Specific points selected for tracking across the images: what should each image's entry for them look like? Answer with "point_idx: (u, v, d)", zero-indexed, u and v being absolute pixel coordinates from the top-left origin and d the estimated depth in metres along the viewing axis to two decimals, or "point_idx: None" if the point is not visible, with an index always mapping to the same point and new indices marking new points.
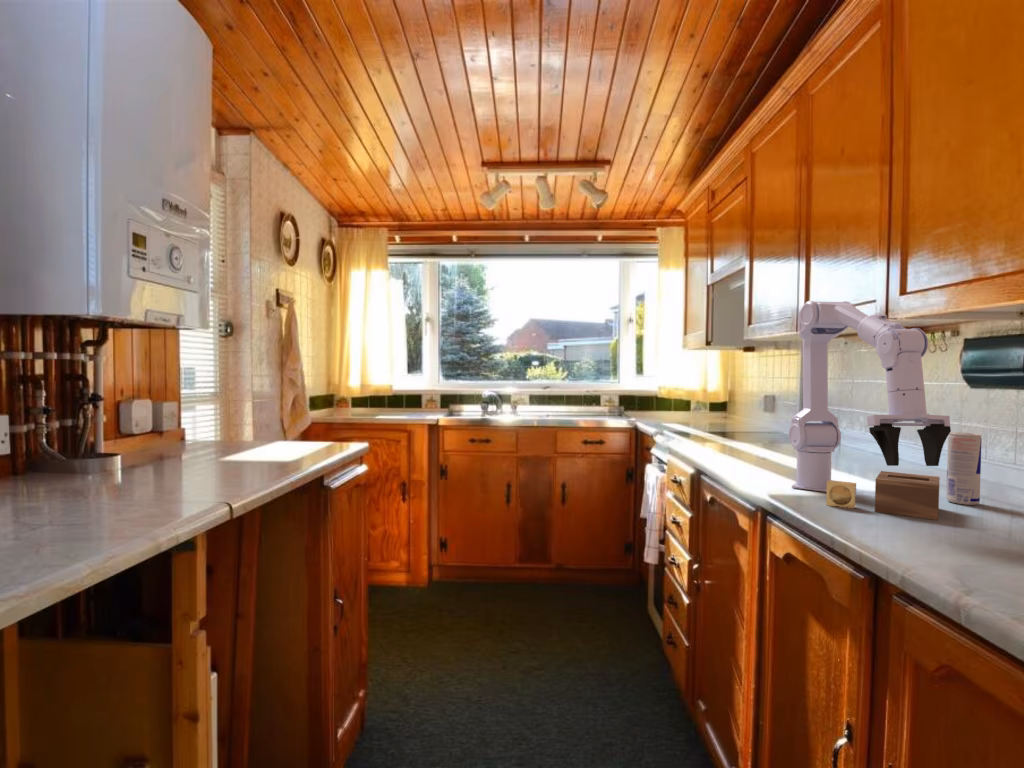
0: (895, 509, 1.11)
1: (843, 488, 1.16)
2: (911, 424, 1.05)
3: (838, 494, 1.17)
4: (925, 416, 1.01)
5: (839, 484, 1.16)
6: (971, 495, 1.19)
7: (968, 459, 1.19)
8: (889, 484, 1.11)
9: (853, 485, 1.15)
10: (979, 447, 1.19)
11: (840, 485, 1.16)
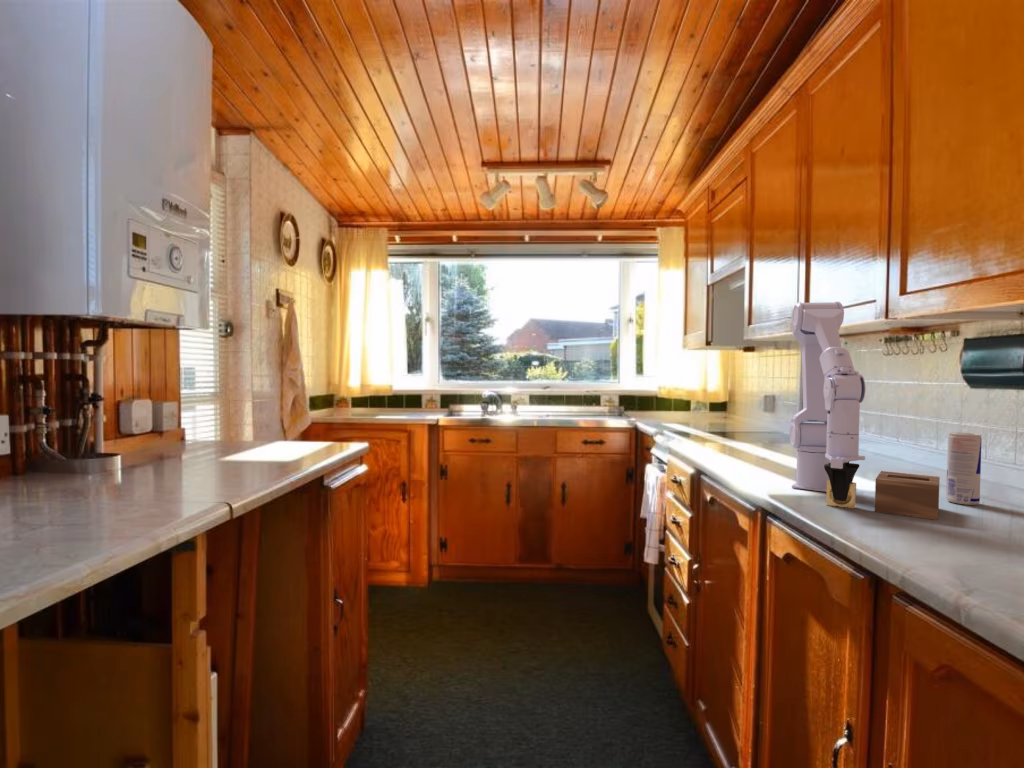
0: (895, 509, 1.11)
1: None
2: None
3: None
4: None
5: None
6: (971, 495, 1.19)
7: (968, 459, 1.19)
8: (889, 484, 1.11)
9: (853, 485, 1.15)
10: (979, 447, 1.19)
11: None
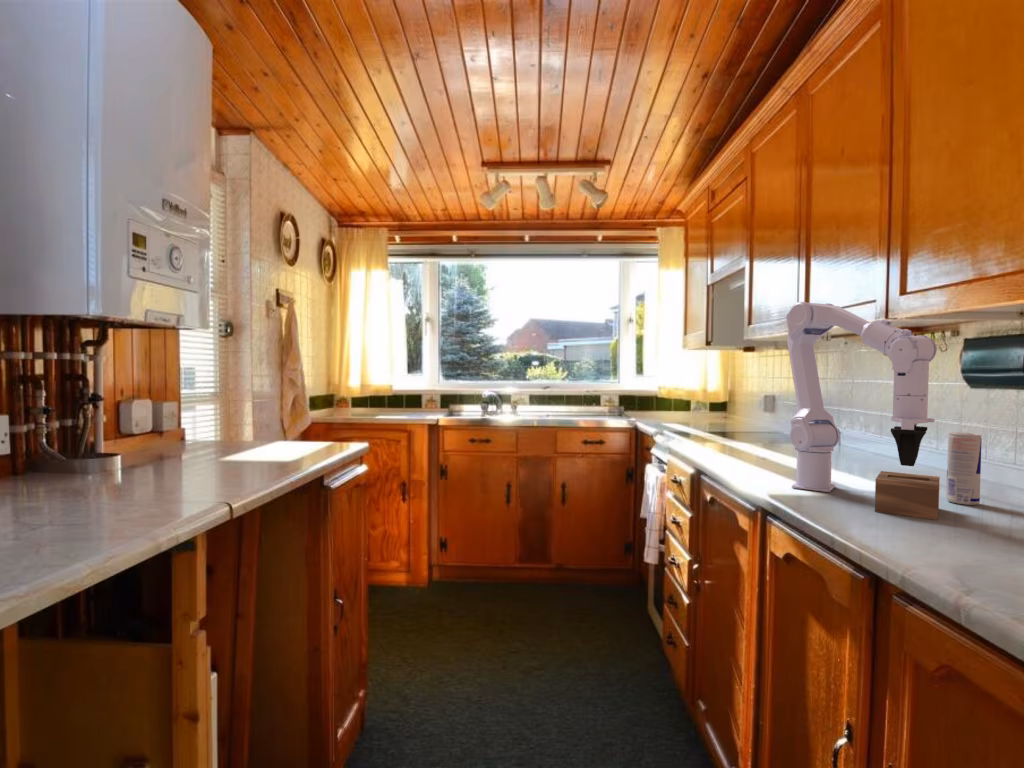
0: (895, 509, 1.11)
1: None
2: None
3: None
4: None
5: None
6: (971, 495, 1.19)
7: (968, 459, 1.19)
8: (889, 484, 1.11)
9: None
10: (979, 447, 1.19)
11: None
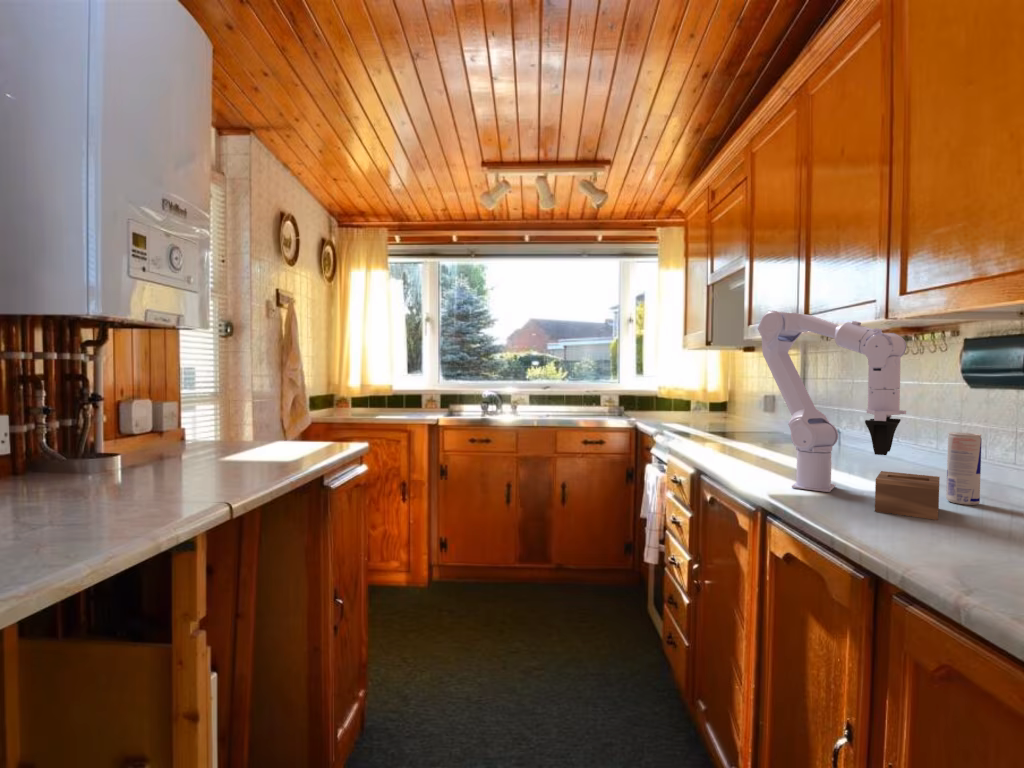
0: (895, 509, 1.11)
1: None
2: None
3: None
4: (905, 413, 1.20)
5: None
6: (971, 495, 1.19)
7: (968, 459, 1.19)
8: (889, 484, 1.11)
9: None
10: (979, 447, 1.19)
11: None
